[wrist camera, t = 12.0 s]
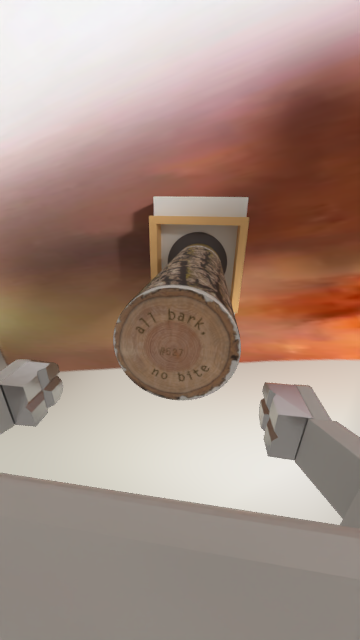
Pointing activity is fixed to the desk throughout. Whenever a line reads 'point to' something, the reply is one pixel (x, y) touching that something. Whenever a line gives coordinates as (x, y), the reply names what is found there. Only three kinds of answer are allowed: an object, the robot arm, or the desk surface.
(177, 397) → the paper tube
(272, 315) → the desk surface
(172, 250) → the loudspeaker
